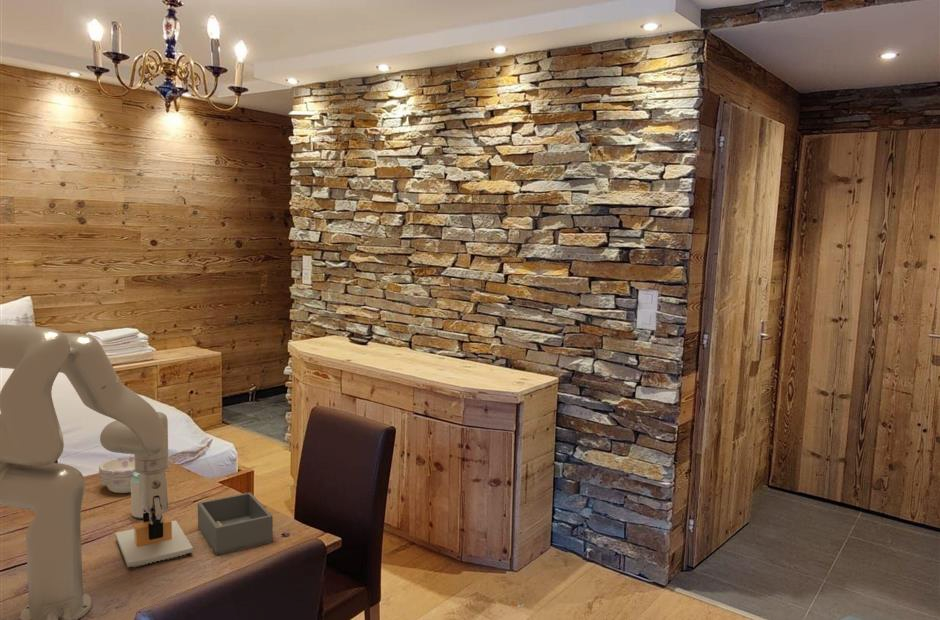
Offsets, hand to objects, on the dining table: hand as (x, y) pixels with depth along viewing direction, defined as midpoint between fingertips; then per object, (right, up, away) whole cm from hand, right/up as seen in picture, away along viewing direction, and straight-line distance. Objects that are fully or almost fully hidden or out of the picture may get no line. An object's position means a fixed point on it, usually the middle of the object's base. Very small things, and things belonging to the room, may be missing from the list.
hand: (153, 532), depth 168 cm
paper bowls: (-25, +1, +38) cm, 45 cm away
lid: (0, -4, 0) cm, 4 cm away
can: (-11, -2, +19) cm, 23 cm away
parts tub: (+17, -4, +9) cm, 20 cm away
